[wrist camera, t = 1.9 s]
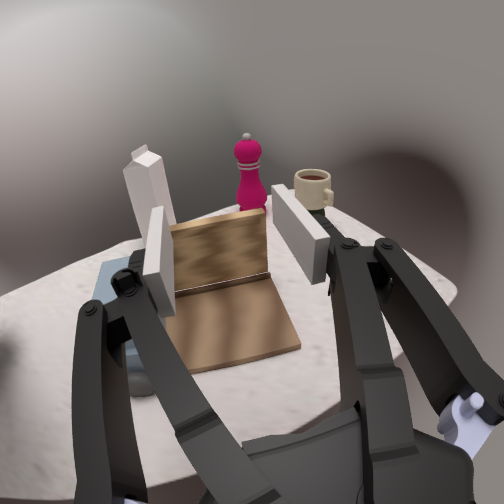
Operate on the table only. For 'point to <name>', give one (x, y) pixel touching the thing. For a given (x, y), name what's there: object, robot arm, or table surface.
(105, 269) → the cab
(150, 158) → the milk
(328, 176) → the character mug
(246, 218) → the side gate
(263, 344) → the flatbed
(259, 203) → the pepper mill
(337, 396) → the table surface
